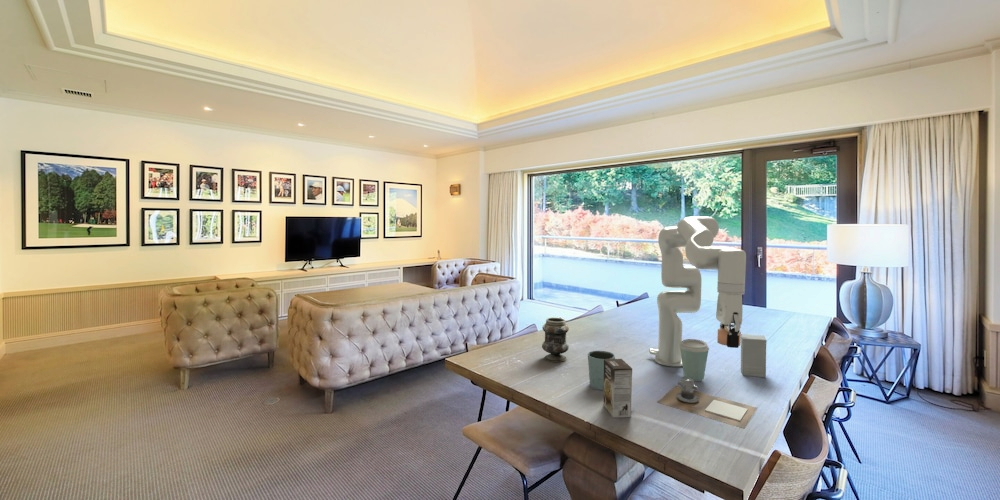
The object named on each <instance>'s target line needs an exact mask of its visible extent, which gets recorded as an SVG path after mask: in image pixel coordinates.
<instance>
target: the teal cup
mask: <svg viewBox="0 0 1000 500" xmlns="http://www.w3.org/2000/svg"><path fill="white" fill-rule="evenodd" d="M587 359H588V360H587V361H588V364H587V365H588V377H589V378H588V379H589V386H590V388H592V389H594V390H598V391H604V359H616V355H615V354H614V353H613V352H610V351H604V350H592V351H589V352H588V353H587Z"/></svg>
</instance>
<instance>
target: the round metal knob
mask: <svg viewBox="0 0 1000 500" xmlns="http://www.w3.org/2000/svg"><path fill="white" fill-rule="evenodd" d="M677 386H680V387H681V392H680V393H677V394H676V399H677V400H678V401H680V402H683V403H686V404H697V403H698V402H699V398H698V397H697V396H696V395H694V391H696V390H698V385H696V384H695V381H694V379H692V378H687V377H682V378H681V380H680V381H678V382H677Z"/></svg>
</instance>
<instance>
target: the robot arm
mask: <svg viewBox="0 0 1000 500" xmlns="http://www.w3.org/2000/svg"><path fill="white" fill-rule="evenodd" d="M719 227H720V226H719V223H718V221H717V220H716V219H715V217H711V216H687V217H684V218H681V219H680V220H679V221H678V223H677V224H676V226H668V227H664V228H662V229H661V230H660V232H659V233H658V247H659V250H660V253H661V271H660V272H661V284H662V285H663V286H664V287H665V288H669V289H670V288H671V289H686V290H664V291H661V292H659V293H658V295H657V297H656V298H657V299H656V302H657V303H656V304H657V309H658V339H657V340H658V347H657V349H656V348H649V351H648V352H649V354H650V355H655V356H654V359H653V360H654V362H656V363H657V364H658V365H662V366H667V367H675V368H676V367H683V365H682V359H681V352H680V348H679V344H680V343H681V341H683V322H682V320H681V319H680V317H679V316H678V314H681V313H682V314H690V313H691V314H692V313H698V312H699V310H700V309H701V305H702V273H701V272H700V270H717V288H716V290H717V292H716V293H718V295H717V302H716V314H715V315H716V316H715V318H716V321H719V323H720V324H719V329H721V328H724V326H728V334H727V346H726V347H727V348H732V349H733V348H735V349H736V348H737V349H738V348H739V347H740V346H739V331H740V332H741V328H742V327H741V326H742V324H743V295H745V293H746V292H745V291H746V269H747V266H746V265H747V254H746V251H745V250H743V249H739V248H738V249H737V248H734V247H730V246H712V245H713V243H714V238H716V237H717V235H718V234H719V231H720V228H719ZM679 248H685V249H684V253H685V257H686V259H687V261H688V262H689V263H690V264H691V265H684V255H683V253H682V251H681V250H680V249H679ZM731 329H732V330H731Z"/></svg>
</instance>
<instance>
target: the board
mask: <svg viewBox="0 0 1000 500" xmlns="http://www.w3.org/2000/svg"><path fill="white" fill-rule="evenodd" d="M680 392H681V386H679V385H675V386H673V388H671V389H670V390H669V391H668V392H667V393H665V395H663V396H662V397H660V398H659V399H658V400H657V401H656V403H659V404H662V405H665V406H668V407H672V408H675V409H678V410H681V411H684V412H688V413H691V414H694V415H697V416H701V417H704V418H707V419H711V420H714V421H717V422H720V423H724V424H728V425H731V426H733V427H734V426H735V427H737V428H740V429H742V430H743V429H746V427H747V426H748V424H749V422H750V420H751V419H752V417H753V416H754V414H755V412H756V411H757V410H758V407H756V406H753V405H749V404H744V403H742V402H741V403H740V402H737V401H733V400H729V399H726V398H722V397H719V396H715V395H711V394H707V393H703V392H700V391H696V390H694V395H696V396H697V397H698V398H699V402H698V403H697V404H686V403H683V402H680V401H678V400H677V399H676V394H677V393H680ZM713 400H717V401H721V402H724V403H728V404H732V405H735V406H739V407H743V408H746V409H748V410H747V412H746V413H745V415H744V416H743V418H742V419H741V421H737V420H733V419H730V418H727V417H723V416H720V415H716V414H713V413H710V412H706V411H705V409H706V408H707V407H708V406H709V405H710V403H711V402H712V401H713Z"/></svg>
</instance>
